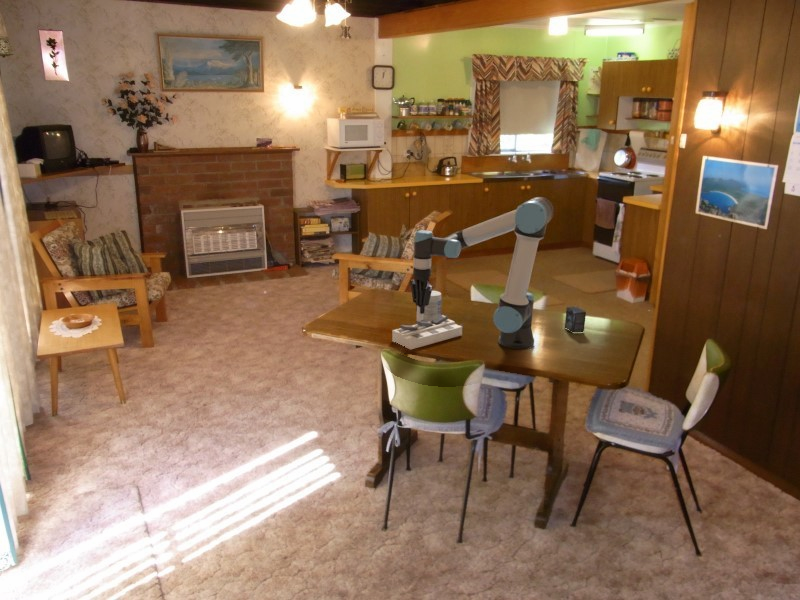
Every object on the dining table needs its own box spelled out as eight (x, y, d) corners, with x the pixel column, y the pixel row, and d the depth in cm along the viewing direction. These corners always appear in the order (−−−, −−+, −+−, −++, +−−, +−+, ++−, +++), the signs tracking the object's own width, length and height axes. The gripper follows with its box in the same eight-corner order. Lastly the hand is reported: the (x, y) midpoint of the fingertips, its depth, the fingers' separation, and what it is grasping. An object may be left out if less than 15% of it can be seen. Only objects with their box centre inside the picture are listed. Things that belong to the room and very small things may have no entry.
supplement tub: (442, 326, 316) (443, 296, 312) (421, 327, 315) (422, 296, 310) (438, 319, 325) (439, 289, 321) (418, 320, 324) (419, 290, 319)
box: (564, 328, 318) (566, 306, 315) (574, 327, 320) (577, 306, 316) (572, 334, 311) (575, 312, 308) (584, 333, 312) (586, 311, 309)
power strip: (471, 332, 310) (472, 321, 308) (410, 349, 287) (410, 338, 286) (452, 325, 318) (453, 314, 317) (392, 341, 296) (392, 330, 295)
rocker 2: (432, 326, 302) (432, 323, 302) (420, 326, 298) (421, 322, 297) (427, 324, 305) (428, 321, 304) (415, 324, 300) (416, 320, 300)
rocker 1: (416, 330, 297) (417, 327, 297) (404, 330, 292) (405, 326, 292) (411, 328, 299) (412, 325, 299) (399, 328, 294) (400, 324, 294)
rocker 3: (447, 319, 308) (447, 316, 307) (436, 325, 304) (436, 322, 303) (442, 317, 310) (442, 314, 309) (431, 323, 306) (431, 320, 306)
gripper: (439, 269, 289) (436, 322, 296) (418, 262, 299) (416, 314, 306) (425, 271, 285) (423, 325, 292) (405, 265, 294) (403, 317, 301)
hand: (419, 319), depth 299 cm, fingers closed
